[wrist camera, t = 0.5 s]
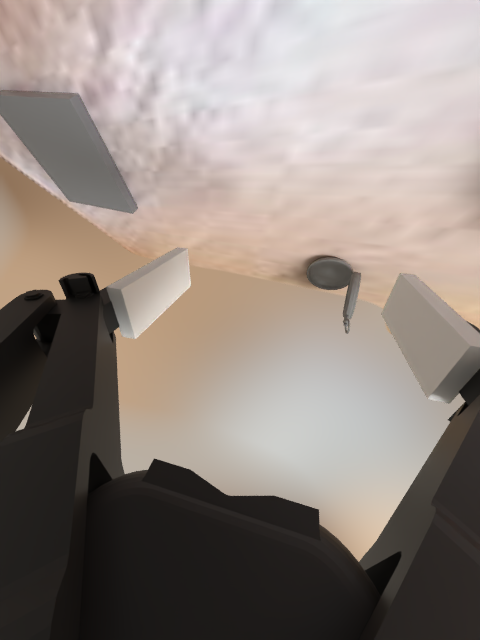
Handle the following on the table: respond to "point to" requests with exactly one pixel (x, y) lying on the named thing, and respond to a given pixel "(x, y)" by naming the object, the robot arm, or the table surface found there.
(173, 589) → the robot arm
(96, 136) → the slate tile
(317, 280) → the pocket watch
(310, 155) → the table surface
